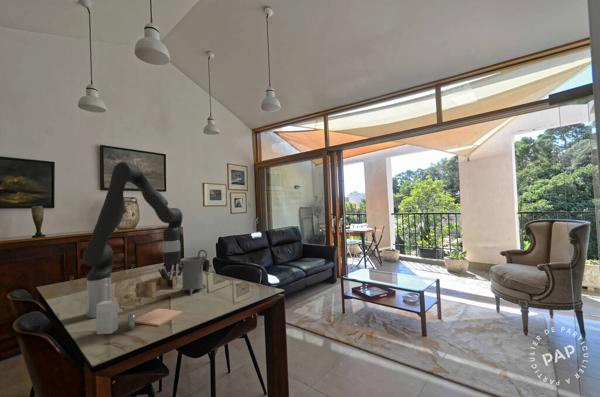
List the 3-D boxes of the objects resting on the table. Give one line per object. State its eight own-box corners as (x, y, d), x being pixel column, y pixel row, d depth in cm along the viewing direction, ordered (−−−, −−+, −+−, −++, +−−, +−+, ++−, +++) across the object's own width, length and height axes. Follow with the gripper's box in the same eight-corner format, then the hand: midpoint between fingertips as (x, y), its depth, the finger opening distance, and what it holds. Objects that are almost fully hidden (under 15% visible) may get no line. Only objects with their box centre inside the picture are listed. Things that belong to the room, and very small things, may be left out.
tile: (132, 322, 116) (132, 320, 116) (158, 310, 130) (158, 308, 130) (158, 326, 112) (158, 324, 112) (182, 312, 125) (182, 311, 125)
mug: (172, 294, 153) (171, 251, 154) (189, 286, 168) (188, 247, 168) (199, 296, 148) (198, 251, 149) (215, 288, 162) (214, 247, 163)
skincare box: (118, 329, 110) (118, 300, 110) (111, 334, 106) (111, 304, 106) (103, 329, 110) (103, 300, 110) (96, 334, 106) (95, 304, 106)
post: (126, 330, 109) (126, 315, 109) (132, 327, 111) (131, 313, 111) (131, 330, 108) (130, 316, 108) (136, 328, 110) (136, 313, 110)
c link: (136, 297, 116) (135, 283, 117) (161, 288, 128) (160, 276, 129) (152, 297, 113) (151, 283, 113) (177, 288, 125) (176, 275, 125)
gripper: (177, 247, 133) (177, 281, 132) (153, 252, 120) (153, 290, 120) (188, 247, 130) (189, 283, 130) (165, 252, 117) (166, 292, 117)
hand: (172, 286), depth 125 cm, fingers closed on c link
